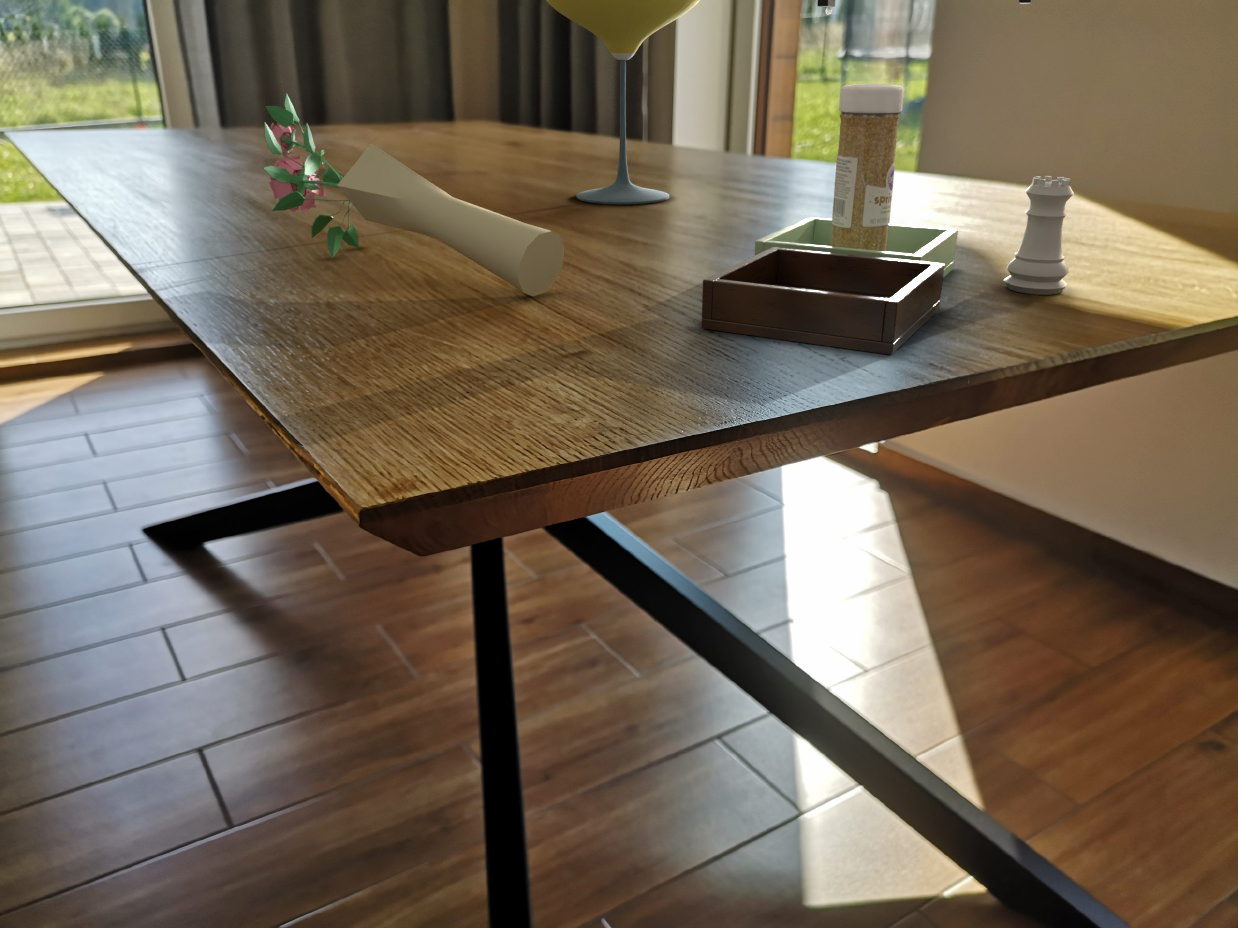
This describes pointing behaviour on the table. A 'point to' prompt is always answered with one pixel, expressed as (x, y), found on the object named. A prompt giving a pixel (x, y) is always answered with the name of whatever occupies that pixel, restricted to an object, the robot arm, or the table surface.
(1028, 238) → the rook chess piece
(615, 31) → the cocktail glass
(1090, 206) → the table surface
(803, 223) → the green bin
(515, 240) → the flower vase
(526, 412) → the table surface
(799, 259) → the walnut bin
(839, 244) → the sprinkles bottle
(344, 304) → the table surface
